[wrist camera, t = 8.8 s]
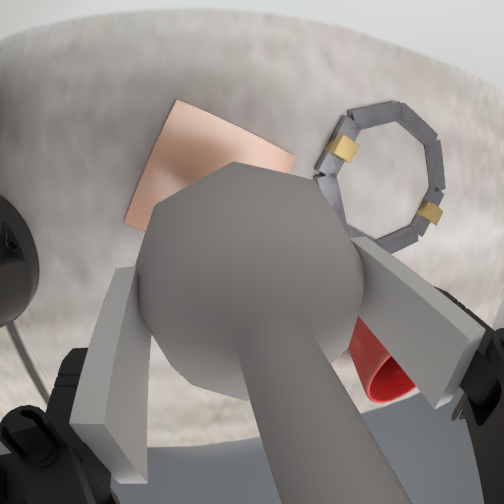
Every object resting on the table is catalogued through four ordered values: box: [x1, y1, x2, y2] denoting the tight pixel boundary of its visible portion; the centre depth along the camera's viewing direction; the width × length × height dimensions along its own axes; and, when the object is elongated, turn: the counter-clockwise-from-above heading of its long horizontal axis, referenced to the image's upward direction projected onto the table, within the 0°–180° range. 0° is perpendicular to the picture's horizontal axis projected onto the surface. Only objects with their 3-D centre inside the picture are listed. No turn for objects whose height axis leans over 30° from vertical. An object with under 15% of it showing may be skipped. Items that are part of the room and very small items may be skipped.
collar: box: [314, 101, 445, 254], centre depth 31 cm, size 17×17×2 cm
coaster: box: [124, 99, 297, 232], centre depth 28 cm, size 12×12×1 cm
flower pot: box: [348, 316, 416, 403], centre depth 35 cm, size 11×11×10 cm
